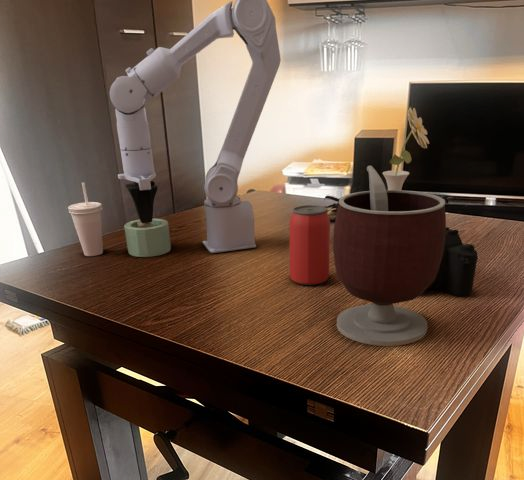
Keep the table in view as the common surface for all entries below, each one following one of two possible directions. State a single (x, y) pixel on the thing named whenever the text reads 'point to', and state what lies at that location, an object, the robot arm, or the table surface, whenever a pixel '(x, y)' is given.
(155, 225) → the pale green hollow ring
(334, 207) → the toy figure
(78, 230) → the smoothie
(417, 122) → the flower in vase
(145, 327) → the table surface
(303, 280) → the beer can
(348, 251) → the mate gourd
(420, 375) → the table surface
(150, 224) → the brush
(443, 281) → the film camera
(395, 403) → the table surface
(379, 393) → the table surface
